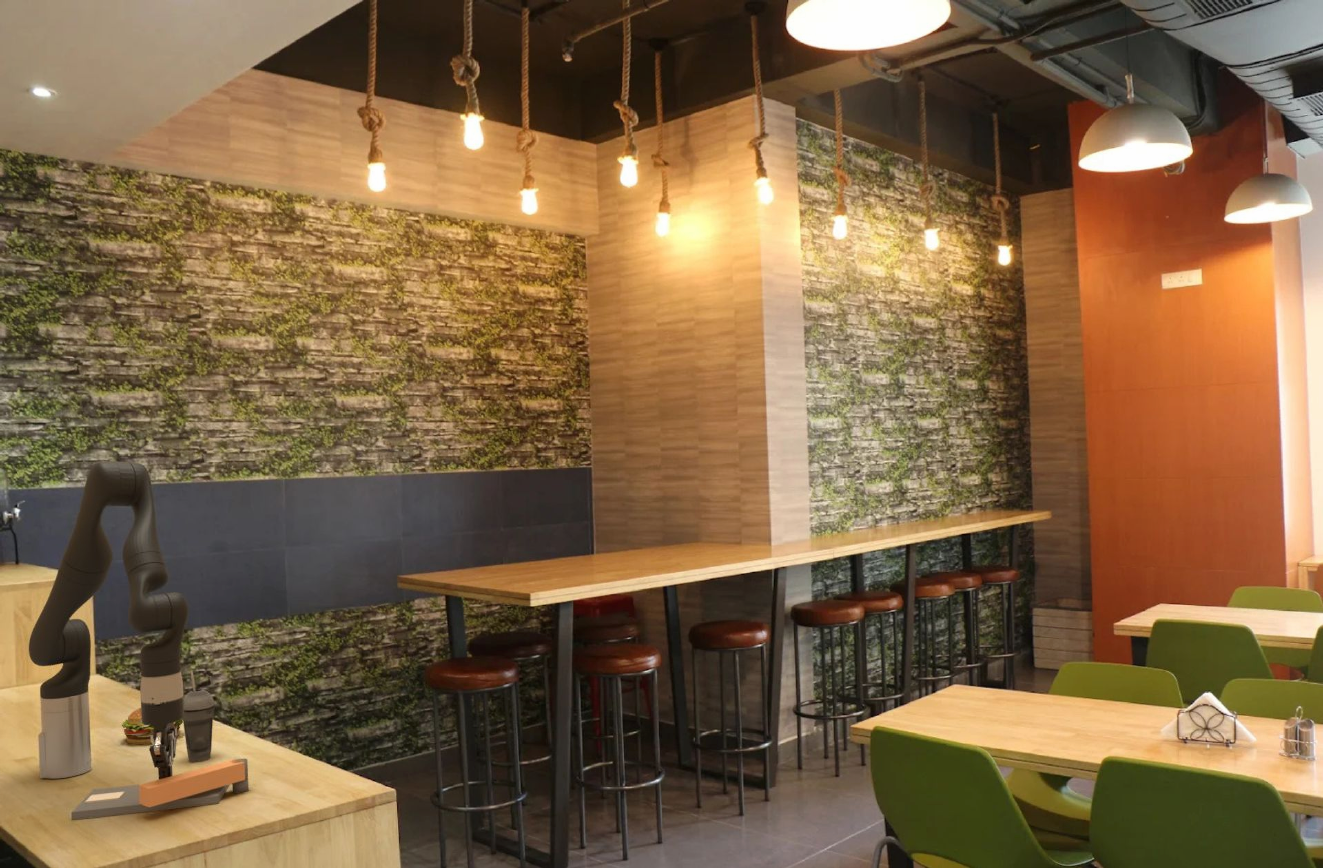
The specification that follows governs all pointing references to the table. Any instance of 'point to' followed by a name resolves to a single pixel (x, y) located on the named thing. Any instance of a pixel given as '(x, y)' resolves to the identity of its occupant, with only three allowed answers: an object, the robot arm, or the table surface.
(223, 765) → the swing bar
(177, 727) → the food
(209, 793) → the label board
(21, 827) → the table surface
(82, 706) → the robot arm
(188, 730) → the beverage cup
